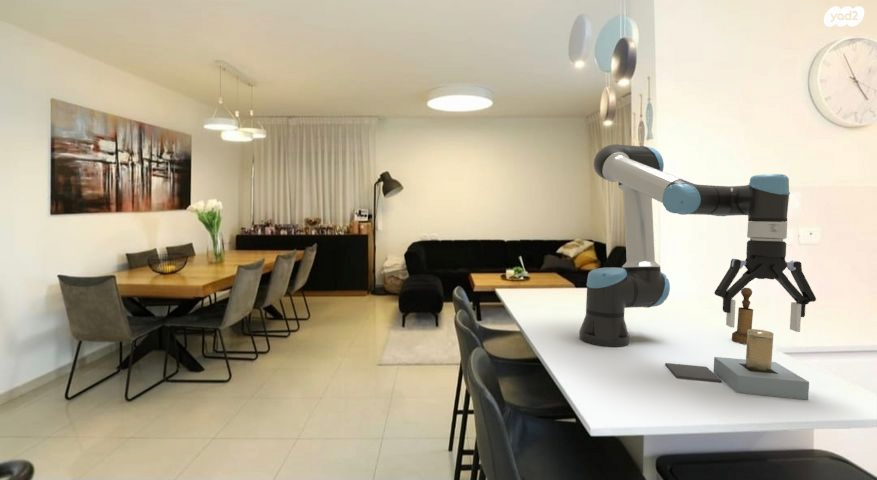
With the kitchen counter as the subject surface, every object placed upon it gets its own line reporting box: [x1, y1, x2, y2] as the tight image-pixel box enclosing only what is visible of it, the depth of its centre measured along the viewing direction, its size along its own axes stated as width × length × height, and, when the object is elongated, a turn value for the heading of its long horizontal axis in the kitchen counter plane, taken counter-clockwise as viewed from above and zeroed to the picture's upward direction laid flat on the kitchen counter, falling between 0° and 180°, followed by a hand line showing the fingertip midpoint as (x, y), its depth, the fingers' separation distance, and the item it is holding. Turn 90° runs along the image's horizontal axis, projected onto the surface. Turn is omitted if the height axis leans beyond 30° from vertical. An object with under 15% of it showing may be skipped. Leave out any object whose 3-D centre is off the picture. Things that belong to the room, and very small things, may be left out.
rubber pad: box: [664, 362, 723, 383], centre depth 112 cm, size 10×10×1 cm
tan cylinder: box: [745, 328, 774, 373], centre depth 105 cm, size 5×5×13 cm
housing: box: [712, 356, 810, 400], centre depth 105 cm, size 14×14×4 cm
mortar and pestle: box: [731, 287, 754, 345], centre depth 144 cm, size 7×6×18 cm
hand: (761, 328), depth 104 cm, fingers open, 13 cm apart
